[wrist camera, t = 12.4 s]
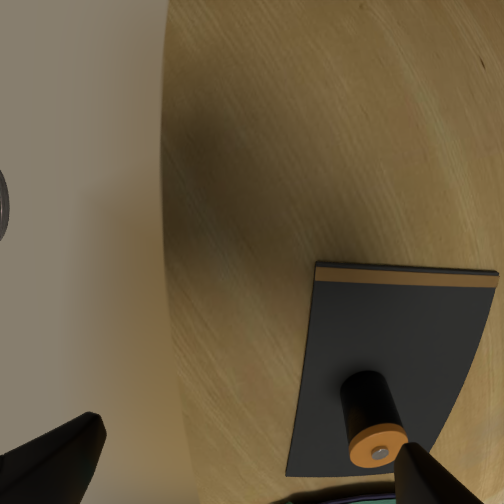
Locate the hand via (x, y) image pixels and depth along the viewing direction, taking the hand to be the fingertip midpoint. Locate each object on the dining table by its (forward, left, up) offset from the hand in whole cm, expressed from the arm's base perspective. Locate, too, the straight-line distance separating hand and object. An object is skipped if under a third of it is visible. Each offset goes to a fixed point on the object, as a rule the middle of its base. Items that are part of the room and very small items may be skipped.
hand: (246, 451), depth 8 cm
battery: (+7, -7, -12) cm, 15 cm away
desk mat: (+9, -8, -12) cm, 17 cm away
